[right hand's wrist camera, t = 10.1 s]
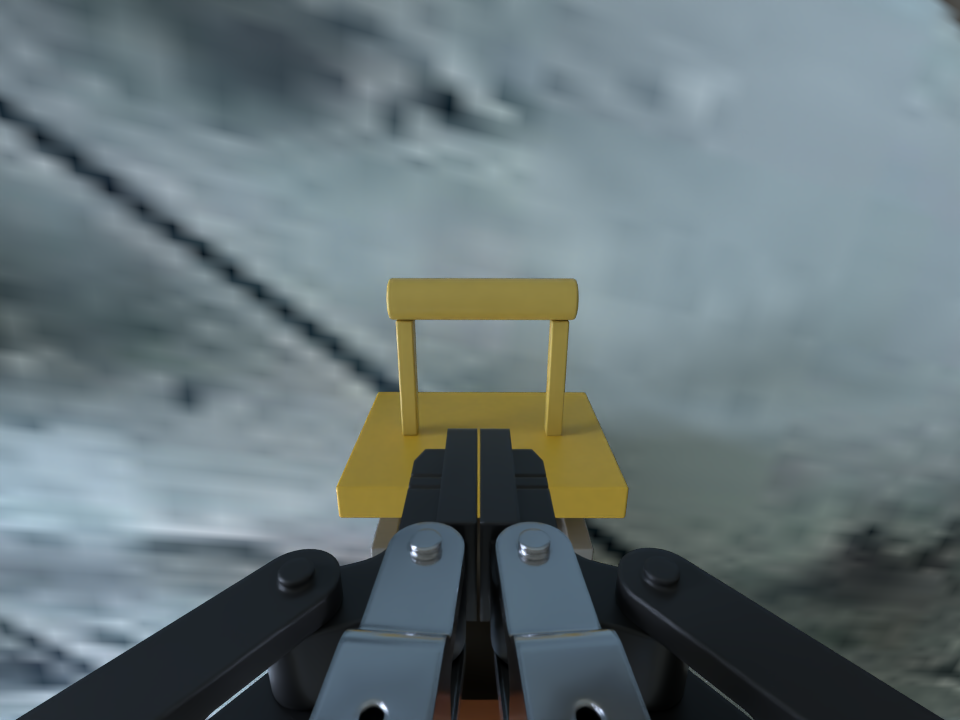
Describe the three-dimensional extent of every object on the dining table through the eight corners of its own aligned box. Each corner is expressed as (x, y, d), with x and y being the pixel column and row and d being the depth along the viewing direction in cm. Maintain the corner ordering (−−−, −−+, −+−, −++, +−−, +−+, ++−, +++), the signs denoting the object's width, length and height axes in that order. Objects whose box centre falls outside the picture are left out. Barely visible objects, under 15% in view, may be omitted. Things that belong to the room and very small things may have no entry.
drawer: (368, 259, 21) (313, 305, 14) (596, 259, 21) (652, 306, 14) (400, 688, 30) (376, 845, 23) (561, 688, 30) (585, 845, 23)
